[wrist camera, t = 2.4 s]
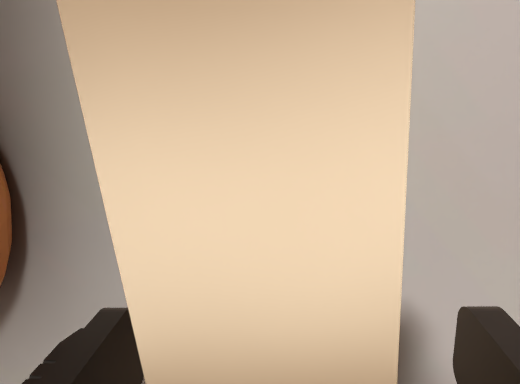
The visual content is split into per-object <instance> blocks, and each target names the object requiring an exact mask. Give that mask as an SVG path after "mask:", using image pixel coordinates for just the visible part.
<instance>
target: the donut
mask: <svg viewBox="0 0 520 384" xmlns="http://www.w3.org/2000/svg"><path fill="white" fill-rule="evenodd" d="M11 242H12V226H11V202H10V194H9V190H8V186H7V183H6V179H5V175H4V172H3V170H2V167H1V165H0V286H1V284H2V281H3V278H4V276H5V273H6V268H7V263H8V259H9V254H10V248H11Z"/></svg>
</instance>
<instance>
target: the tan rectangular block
mask: <svg viewBox="0 0 520 384" xmlns="http://www.w3.org/2000/svg"><path fill="white" fill-rule="evenodd" d="M56 1H57V6H58V10H59V14H60V19H61V23H62V27H63V31H64V36H65V40H66V44H67V49H68V53H69V57H70V61H71V66H72V70H73V74H74V79H75V83H76V87H77V91H78V96H79V100H80V104H81V109H82V113H83V117H84V121H85V126H86V130H87V134H88V138H89V143H90V147H91V151H92V156H93V160H94V164H95V168H96V173H97V177H98V181H99V186H100V190H101V194H102V198H103V203H104V207H105V211H106V216H107V220H108V224H109V228H110V233H111V237H112V241H113V246H114V250H115V254H116V258H117V263H118V267H119V271H120V275H121V280H122V284H123V288H124V293H125V297H126V301H127V305H128V310H129V314H130V318H131V323H132V327H133V331H134V335H135V340H136V344H137V348H138V353H139V357H140V361H141V365H142V370H143V374H144V378H145V383H146V384H397V374H398V353H399V332H400V311H401V290H402V269H403V247H404V226H405V205H406V184H407V163H408V142H409V121H410V100H411V78H412V57H413V36H414V15H415V0H56Z"/></svg>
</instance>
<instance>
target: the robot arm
mask: <svg viewBox="0 0 520 384" xmlns="http://www.w3.org/2000/svg"><path fill="white" fill-rule="evenodd" d="M453 369H454V375H455V378H456V382H457V384H520V327H519V325H518V324H517V323H516V322H515V321H514V320H513V319H512V318H511V317H510V316H509V315H508V314H507V313H506V312H505V311H504V310H503V309H502V308H500V307H497V306H492V307H461V308H460V310H459V312H458V318H457V327H456V336H455V345H454V354H453ZM143 377H144V374H143V370H142V365H141V361H140V357H139V353H138V348H137V344H136V340H135V335H134V331H133V327H132V323H131V318H130V314H129V310H128V308H103V309H101V310H100V311H99V312H98V313H97V314H96V315H95V317H94V318H93V319H92V320H91V321H90V322H89V323H88V325H87V326H86V327H85V328H80V329H79V330H78V331H76V332H75V333H73V334H72V335H70V336H69V337H67V338H66V339H65V340H63V341H62V342H60V343H59V344H58V345H57V346H56V347H55V348H54V350H53V351H52V352H51V353H50V354H49V355H48V356H47V357H46V358H45V359H44V362H43V364H40V365H39V366H38V367H37V368H36V369H35V370H34V371H33V372H32V373H31V375H30V378H29V379H26V380H25V381H24V382H23V383H22V384H141V383H142V380H143Z"/></svg>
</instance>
